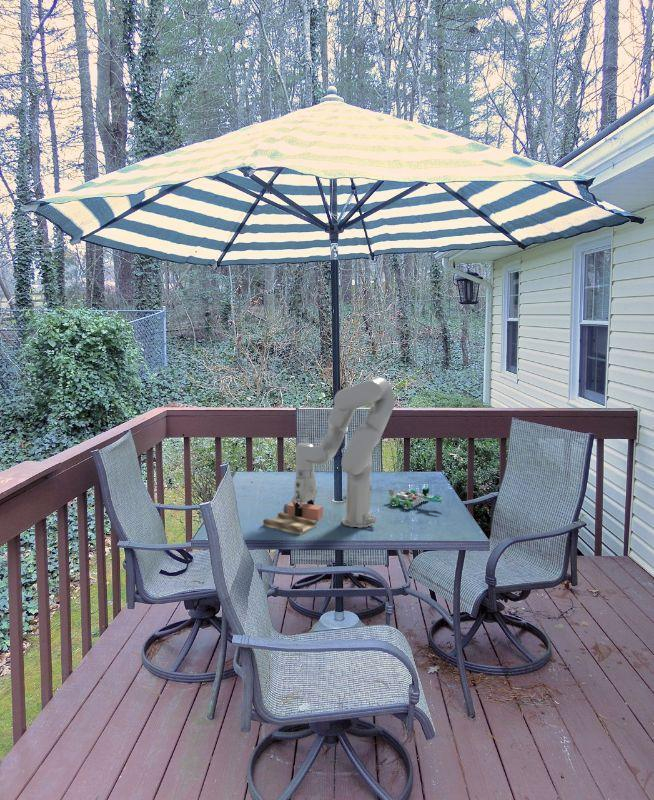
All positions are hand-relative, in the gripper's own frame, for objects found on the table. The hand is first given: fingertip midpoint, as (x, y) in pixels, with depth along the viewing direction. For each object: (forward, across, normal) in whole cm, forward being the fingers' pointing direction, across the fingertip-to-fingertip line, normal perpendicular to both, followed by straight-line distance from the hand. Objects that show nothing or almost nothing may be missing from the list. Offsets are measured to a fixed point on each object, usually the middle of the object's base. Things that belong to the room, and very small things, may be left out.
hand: (304, 513), depth 249 cm
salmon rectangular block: (+1, 0, 0) cm, 2 cm away
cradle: (+1, -13, -2) cm, 13 cm away
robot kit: (+2, +42, -33) cm, 53 cm away
